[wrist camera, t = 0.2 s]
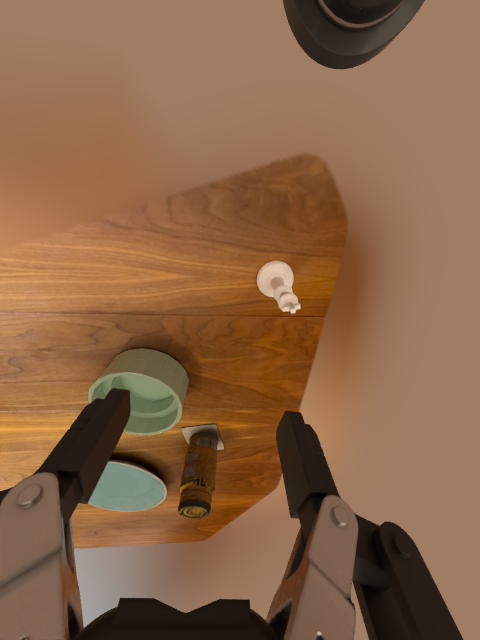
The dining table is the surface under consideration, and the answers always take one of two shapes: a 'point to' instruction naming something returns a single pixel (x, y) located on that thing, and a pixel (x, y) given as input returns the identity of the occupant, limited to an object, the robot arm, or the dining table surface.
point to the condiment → (199, 470)
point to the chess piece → (278, 284)
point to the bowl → (146, 389)
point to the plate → (127, 488)
